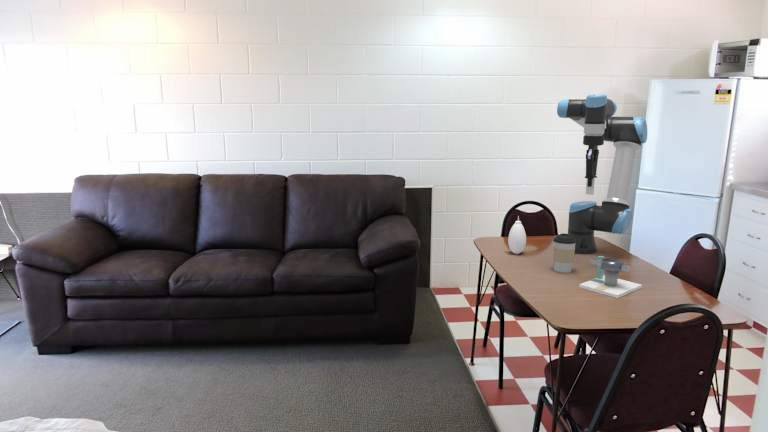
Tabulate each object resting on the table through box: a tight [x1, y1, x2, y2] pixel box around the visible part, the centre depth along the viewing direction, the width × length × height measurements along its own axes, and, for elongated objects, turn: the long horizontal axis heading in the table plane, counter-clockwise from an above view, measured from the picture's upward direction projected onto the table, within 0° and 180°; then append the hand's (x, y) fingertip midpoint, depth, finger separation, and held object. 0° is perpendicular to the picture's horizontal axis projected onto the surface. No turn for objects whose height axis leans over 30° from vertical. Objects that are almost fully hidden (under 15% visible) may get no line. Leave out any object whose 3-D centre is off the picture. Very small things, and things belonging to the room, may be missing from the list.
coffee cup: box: [552, 233, 576, 274], centre depth 219 cm, size 9×9×15 cm
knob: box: [589, 257, 631, 273], centre depth 198 cm, size 15×8×3 cm, turn 42°
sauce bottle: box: [507, 215, 527, 255], centre depth 243 cm, size 8×8×18 cm
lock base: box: [578, 255, 643, 299], centre depth 198 cm, size 18×15×10 cm
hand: (589, 194), depth 212 cm, fingers closed
